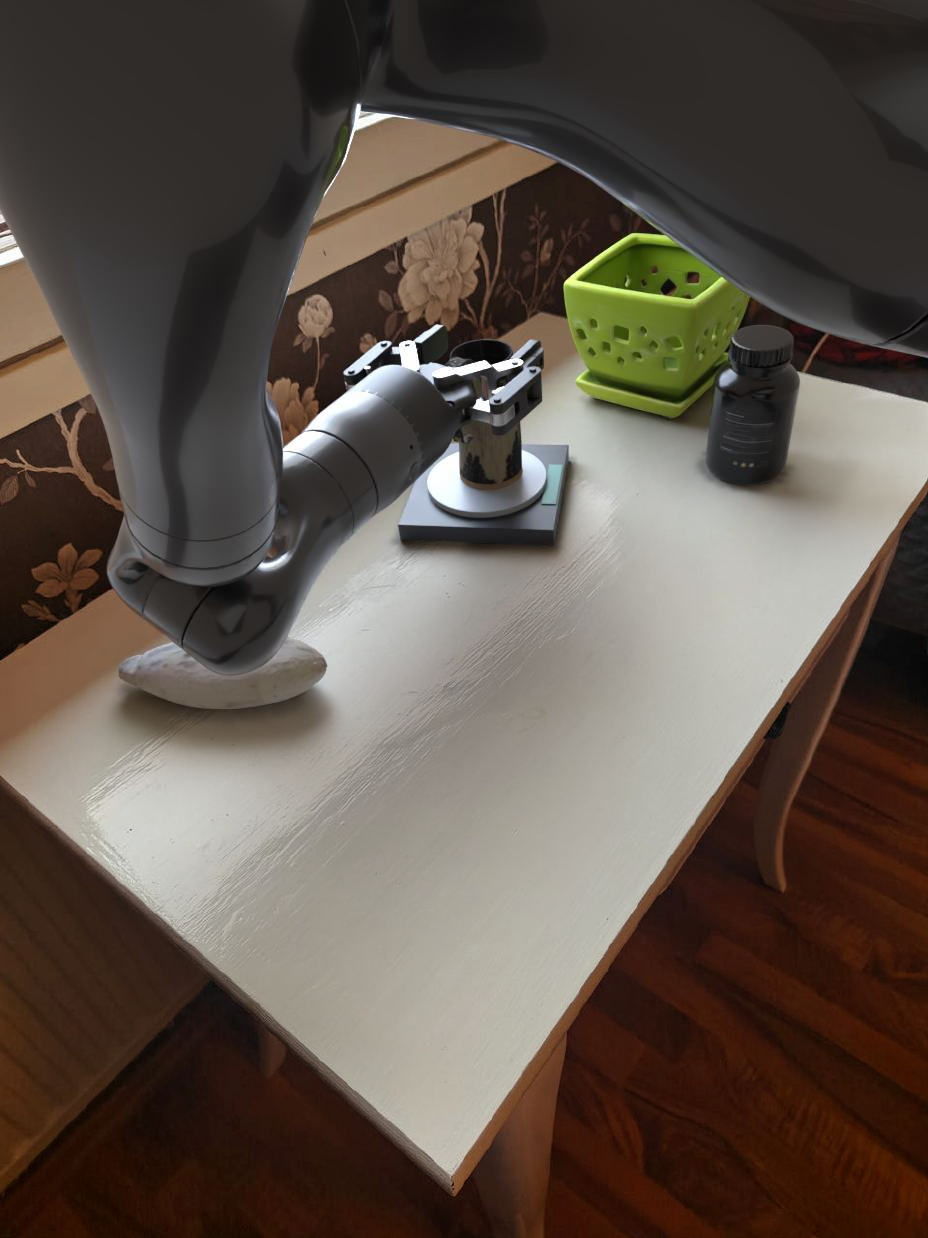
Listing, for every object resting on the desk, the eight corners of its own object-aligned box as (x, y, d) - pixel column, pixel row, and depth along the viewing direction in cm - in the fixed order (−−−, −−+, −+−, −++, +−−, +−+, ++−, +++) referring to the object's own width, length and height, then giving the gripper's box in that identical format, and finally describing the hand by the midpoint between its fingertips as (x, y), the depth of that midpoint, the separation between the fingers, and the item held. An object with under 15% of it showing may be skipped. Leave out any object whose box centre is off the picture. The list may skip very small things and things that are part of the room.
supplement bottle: (709, 442, 80) (723, 316, 72) (787, 449, 78) (810, 319, 70) (699, 483, 75) (713, 353, 67) (782, 491, 73) (807, 358, 65)
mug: (480, 449, 78) (468, 320, 70) (534, 461, 76) (529, 330, 68) (434, 495, 73) (416, 363, 65) (490, 510, 71) (478, 375, 63)
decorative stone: (140, 656, 65) (124, 623, 63) (341, 652, 63) (332, 618, 61) (111, 718, 61) (92, 684, 58) (325, 715, 59) (315, 681, 57)
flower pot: (628, 348, 95) (632, 228, 87) (749, 374, 88) (767, 247, 80) (559, 403, 87) (557, 278, 79) (686, 437, 81) (699, 304, 72)
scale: (568, 459, 80) (568, 438, 78) (554, 546, 70) (553, 524, 69) (432, 457, 82) (429, 436, 81) (400, 540, 73) (396, 518, 71)
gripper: (457, 413, 53) (570, 308, 63) (279, 376, 59) (408, 286, 69) (468, 513, 58) (571, 401, 68) (303, 470, 64) (420, 373, 74)
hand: (489, 343), depth 68 cm, fingers open, 8 cm apart
